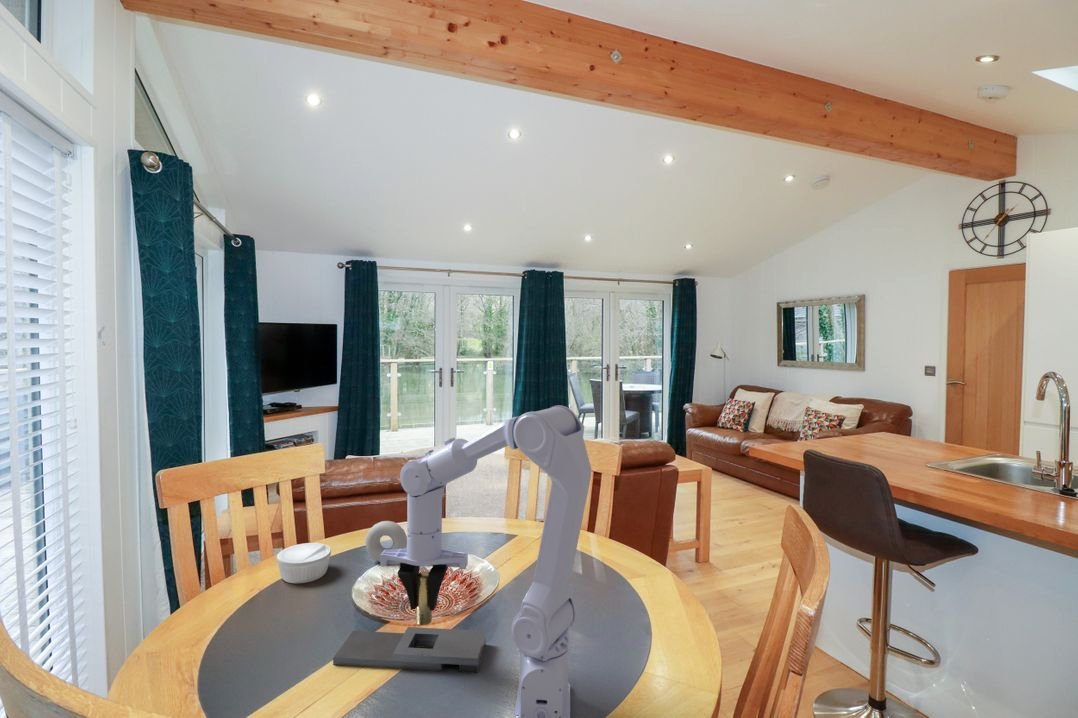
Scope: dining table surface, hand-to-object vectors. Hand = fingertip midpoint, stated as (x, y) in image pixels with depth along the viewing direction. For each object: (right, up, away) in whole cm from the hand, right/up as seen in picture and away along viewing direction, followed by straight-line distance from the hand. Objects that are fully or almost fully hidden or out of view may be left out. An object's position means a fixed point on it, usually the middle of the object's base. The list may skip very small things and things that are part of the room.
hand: (423, 606), depth 90 cm
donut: (-17, -7, +36) cm, 41 cm away
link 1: (-5, -8, +1) cm, 10 cm away
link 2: (+3, -8, 0) cm, 9 cm away
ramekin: (-33, -7, +29) cm, 45 cm away
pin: (0, -3, 0) cm, 3 cm away
